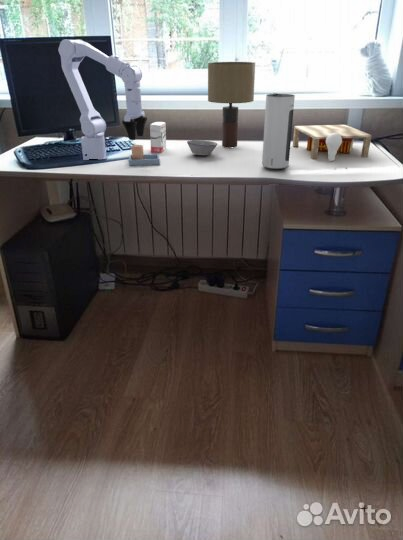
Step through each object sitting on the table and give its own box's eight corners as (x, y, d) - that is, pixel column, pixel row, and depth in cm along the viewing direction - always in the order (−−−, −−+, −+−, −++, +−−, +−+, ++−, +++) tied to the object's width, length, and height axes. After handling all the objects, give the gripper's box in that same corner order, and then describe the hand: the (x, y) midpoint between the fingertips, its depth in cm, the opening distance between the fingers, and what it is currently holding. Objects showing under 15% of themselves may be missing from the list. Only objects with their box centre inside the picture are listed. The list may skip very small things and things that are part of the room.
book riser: (312, 158, 174) (314, 136, 170) (292, 145, 196) (294, 126, 192) (367, 156, 176) (371, 135, 172) (342, 144, 199) (344, 124, 195)
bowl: (180, 152, 179) (181, 141, 177) (195, 149, 189) (196, 138, 187) (207, 157, 173) (208, 145, 171) (221, 154, 184) (222, 142, 182)
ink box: (161, 153, 185) (160, 125, 179) (150, 152, 186) (148, 124, 180) (167, 149, 192) (165, 121, 187) (156, 148, 193) (154, 121, 188)
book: (306, 151, 188) (307, 139, 186) (312, 145, 199) (313, 134, 196) (349, 154, 182) (350, 142, 180) (352, 148, 192) (354, 137, 190)
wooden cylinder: (132, 162, 168) (131, 147, 165) (132, 160, 172) (131, 145, 169) (144, 162, 168) (142, 147, 165) (144, 159, 172) (142, 144, 169)
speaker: (282, 170, 158) (288, 95, 146) (257, 166, 163) (261, 94, 151) (292, 164, 166) (299, 92, 154) (268, 161, 171) (272, 91, 159)
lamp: (258, 144, 200) (263, 62, 183) (238, 152, 185) (241, 63, 168) (221, 140, 209) (222, 61, 193) (199, 147, 194) (198, 63, 178)
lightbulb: (339, 160, 172) (343, 132, 166) (338, 163, 167) (342, 134, 161) (323, 159, 173) (327, 131, 168) (322, 162, 168) (326, 134, 163)
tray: (129, 165, 166) (128, 160, 165) (129, 160, 174) (129, 155, 173) (159, 164, 167) (159, 159, 166) (159, 159, 175) (158, 154, 174)
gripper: (135, 103, 154) (138, 142, 161) (150, 99, 167) (152, 135, 173) (117, 103, 156) (121, 141, 162) (134, 98, 168) (136, 134, 175)
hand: (136, 137), depth 168 cm, fingers open, 7 cm apart
